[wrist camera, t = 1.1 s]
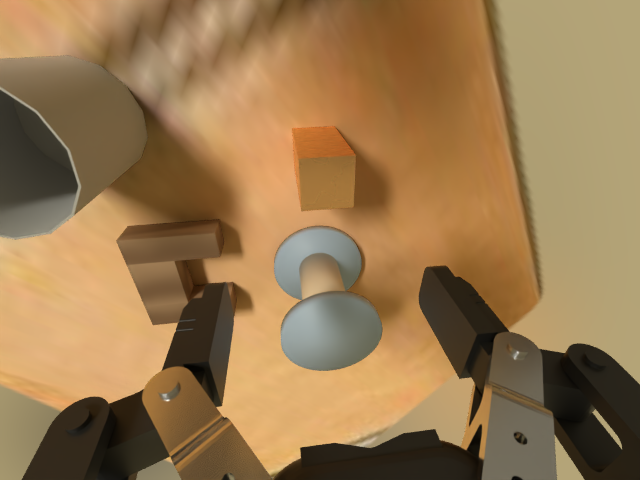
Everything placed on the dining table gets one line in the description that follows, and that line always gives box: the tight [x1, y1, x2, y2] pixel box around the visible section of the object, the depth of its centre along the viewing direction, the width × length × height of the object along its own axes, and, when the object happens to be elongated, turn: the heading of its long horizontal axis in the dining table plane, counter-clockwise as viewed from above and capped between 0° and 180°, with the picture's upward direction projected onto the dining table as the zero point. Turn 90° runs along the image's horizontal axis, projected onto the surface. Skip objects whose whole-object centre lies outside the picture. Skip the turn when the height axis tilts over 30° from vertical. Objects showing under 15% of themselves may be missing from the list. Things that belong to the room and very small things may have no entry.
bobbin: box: [274, 226, 382, 371], centre depth 29 cm, size 9×9×10 cm
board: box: [116, 219, 237, 325], centre depth 30 cm, size 10×8×2 cm
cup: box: [0, 55, 148, 239], centre depth 19 cm, size 8×8×10 cm
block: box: [292, 126, 356, 211], centre depth 23 cm, size 4×4×8 cm
